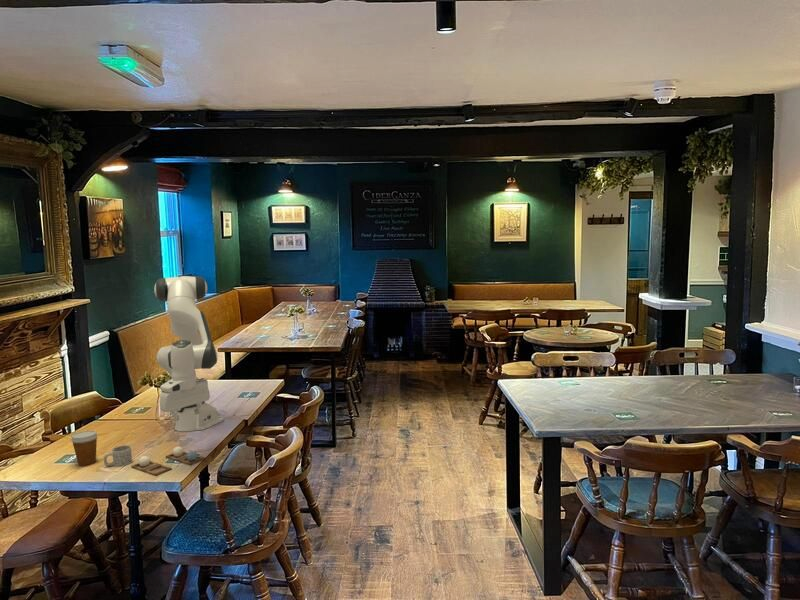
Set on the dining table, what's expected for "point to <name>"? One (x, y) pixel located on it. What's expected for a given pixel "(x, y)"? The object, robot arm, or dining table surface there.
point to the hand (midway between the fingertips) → (187, 417)
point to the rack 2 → (185, 459)
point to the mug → (119, 456)
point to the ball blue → (192, 456)
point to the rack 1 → (152, 468)
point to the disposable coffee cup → (85, 447)
